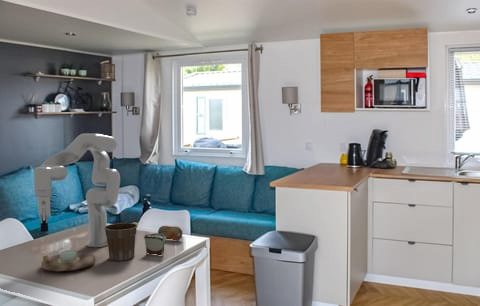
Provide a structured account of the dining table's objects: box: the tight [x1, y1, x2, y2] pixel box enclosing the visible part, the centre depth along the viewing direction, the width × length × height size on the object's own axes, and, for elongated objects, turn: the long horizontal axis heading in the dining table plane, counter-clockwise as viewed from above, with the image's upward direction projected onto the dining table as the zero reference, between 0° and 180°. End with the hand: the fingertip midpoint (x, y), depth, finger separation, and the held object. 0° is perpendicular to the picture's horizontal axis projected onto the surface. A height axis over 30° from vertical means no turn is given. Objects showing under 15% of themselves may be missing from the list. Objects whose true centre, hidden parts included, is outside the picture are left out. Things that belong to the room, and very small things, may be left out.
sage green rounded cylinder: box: [59, 249, 77, 263], centre depth 217 cm, size 7×7×4 cm
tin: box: [157, 225, 183, 241], centre depth 263 cm, size 15×3×8 cm, turn 67°
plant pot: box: [104, 222, 138, 262], centre depth 231 cm, size 16×16×16 cm
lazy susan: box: [41, 251, 96, 272], centre depth 218 cm, size 24×24×4 cm
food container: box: [143, 232, 166, 256], centre depth 237 cm, size 12×6×10 cm, turn 65°
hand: (44, 231), depth 219 cm, fingers closed
